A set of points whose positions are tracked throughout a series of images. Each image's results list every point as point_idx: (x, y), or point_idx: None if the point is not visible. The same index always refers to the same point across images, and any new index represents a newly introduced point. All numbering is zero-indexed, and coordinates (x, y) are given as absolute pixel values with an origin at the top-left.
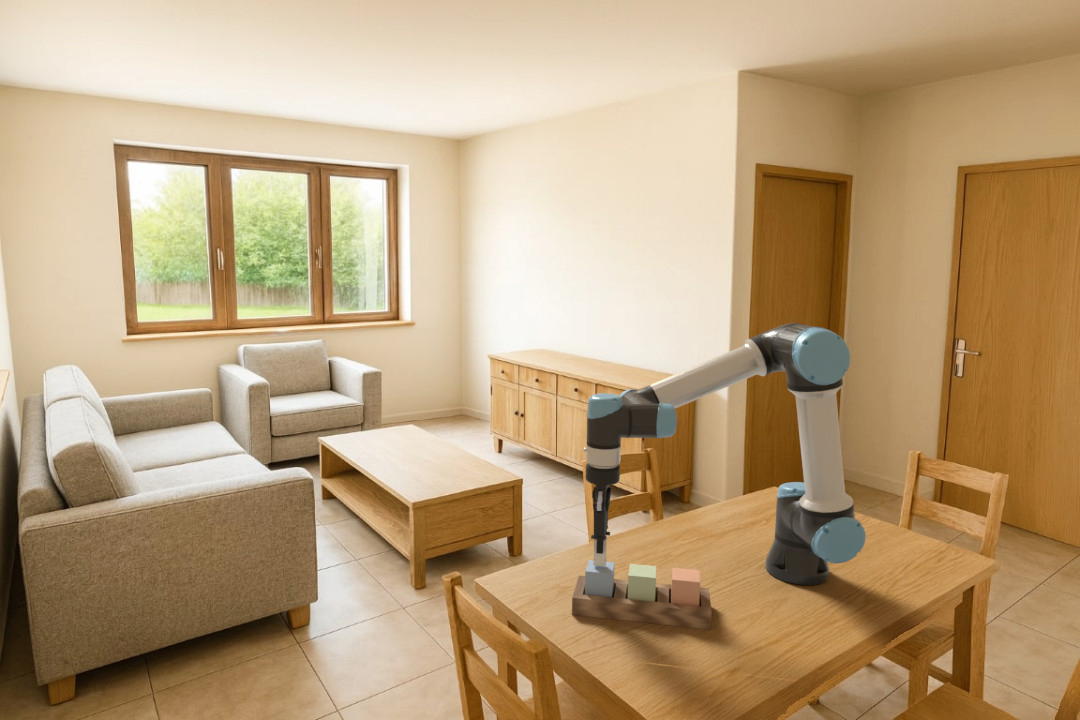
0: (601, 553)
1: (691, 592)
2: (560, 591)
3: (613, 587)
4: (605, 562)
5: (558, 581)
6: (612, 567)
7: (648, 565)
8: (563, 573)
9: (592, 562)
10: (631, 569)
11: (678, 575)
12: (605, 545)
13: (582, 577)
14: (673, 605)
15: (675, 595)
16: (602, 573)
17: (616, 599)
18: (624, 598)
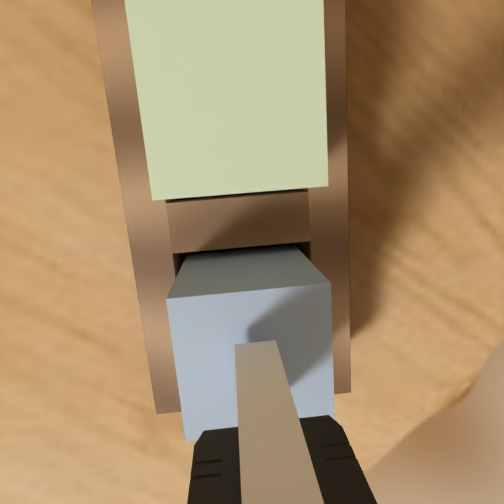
0: (332, 424)
1: None
2: (182, 425)
3: (206, 258)
4: (279, 353)
5: (113, 449)
6: (244, 297)
7: (134, 63)
8: (46, 451)
9: (213, 415)
10: (237, 177)
11: None
12: (307, 448)
13: (168, 397)
14: None
15: None
16: (330, 336)
17: (322, 227)
18: (307, 194)
